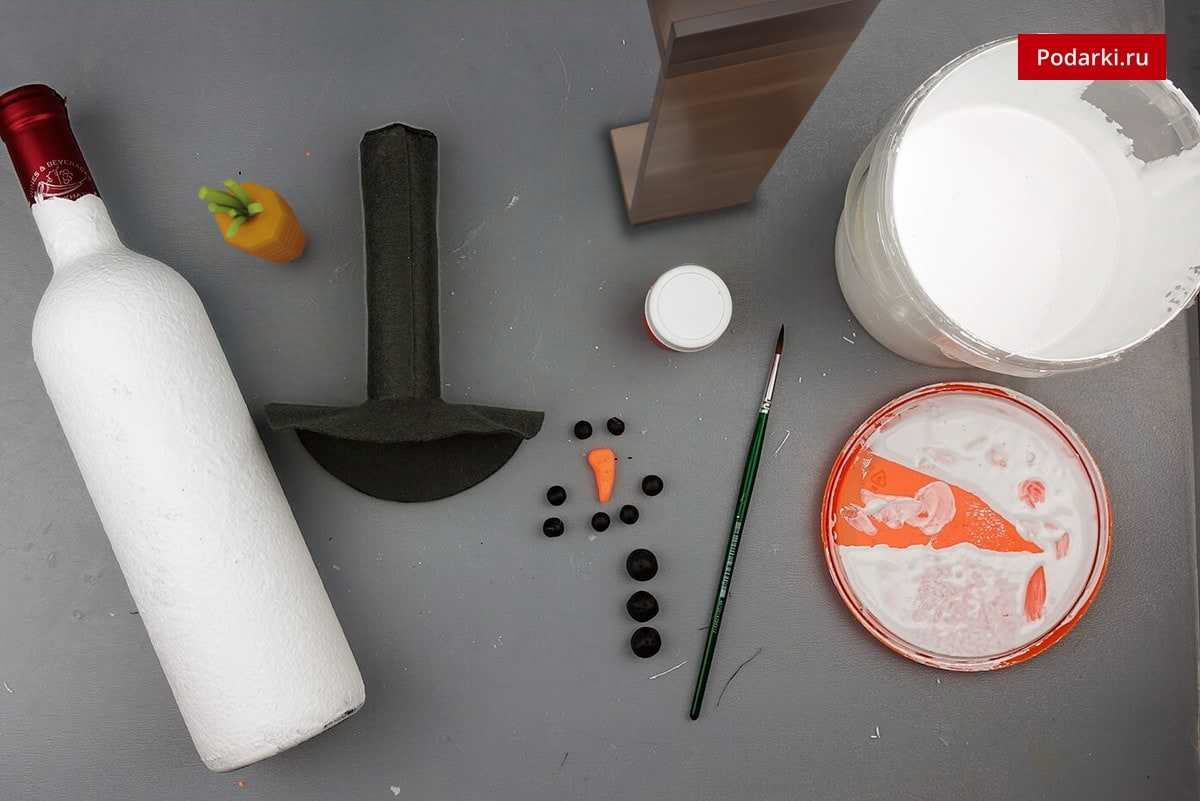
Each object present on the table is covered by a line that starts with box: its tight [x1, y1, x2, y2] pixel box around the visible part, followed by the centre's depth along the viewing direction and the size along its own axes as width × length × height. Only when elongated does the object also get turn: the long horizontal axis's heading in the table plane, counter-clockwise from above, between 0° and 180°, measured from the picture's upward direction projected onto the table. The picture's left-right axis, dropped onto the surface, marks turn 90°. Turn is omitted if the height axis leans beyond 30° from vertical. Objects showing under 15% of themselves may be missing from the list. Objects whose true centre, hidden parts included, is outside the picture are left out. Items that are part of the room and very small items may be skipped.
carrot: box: [197, 178, 308, 264], centre depth 65 cm, size 5×5×15 cm
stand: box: [609, 40, 856, 228], centre depth 60 cm, size 8×10×28 cm
